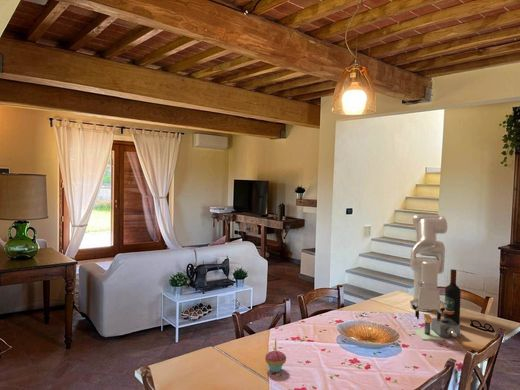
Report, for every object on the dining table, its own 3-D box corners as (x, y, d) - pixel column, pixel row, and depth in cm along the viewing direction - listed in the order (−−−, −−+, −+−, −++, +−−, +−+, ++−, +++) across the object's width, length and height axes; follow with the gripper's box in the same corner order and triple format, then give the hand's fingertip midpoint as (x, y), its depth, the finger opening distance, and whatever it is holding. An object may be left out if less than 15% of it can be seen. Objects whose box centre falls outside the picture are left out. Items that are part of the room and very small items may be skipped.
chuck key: (425, 336, 190) (425, 318, 190) (423, 331, 197) (423, 313, 197) (431, 337, 189) (432, 318, 189) (429, 331, 196) (429, 314, 196)
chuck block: (431, 329, 201) (431, 318, 201) (449, 329, 201) (450, 318, 201) (444, 341, 186) (445, 328, 186) (465, 341, 186) (465, 329, 186)
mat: (412, 330, 199) (412, 329, 199) (431, 330, 199) (431, 329, 199) (422, 340, 187) (422, 338, 187) (442, 340, 187) (443, 339, 187)
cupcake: (264, 364, 158) (264, 335, 158) (284, 364, 159) (284, 335, 159) (266, 374, 150) (266, 344, 150) (287, 374, 151) (288, 344, 150)
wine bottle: (461, 327, 205) (463, 271, 204) (446, 326, 206) (448, 271, 205) (457, 322, 212) (458, 268, 211) (442, 321, 214) (444, 268, 213)
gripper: (411, 286, 191) (410, 320, 192) (449, 289, 187) (448, 323, 187) (409, 282, 198) (408, 315, 199) (446, 285, 194) (444, 318, 194)
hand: (427, 319), depth 193 cm, fingers open, 9 cm apart
